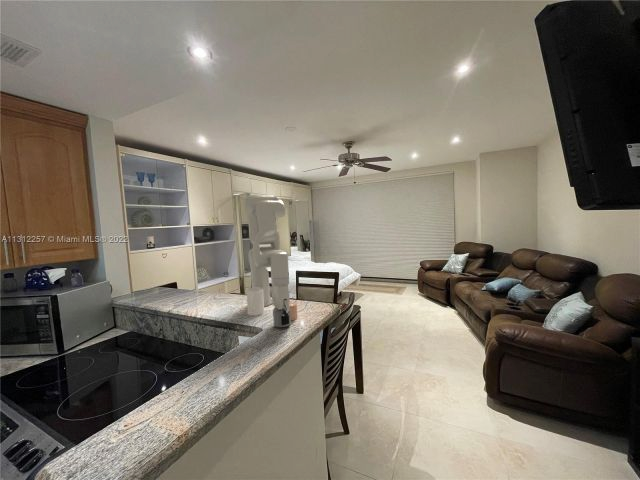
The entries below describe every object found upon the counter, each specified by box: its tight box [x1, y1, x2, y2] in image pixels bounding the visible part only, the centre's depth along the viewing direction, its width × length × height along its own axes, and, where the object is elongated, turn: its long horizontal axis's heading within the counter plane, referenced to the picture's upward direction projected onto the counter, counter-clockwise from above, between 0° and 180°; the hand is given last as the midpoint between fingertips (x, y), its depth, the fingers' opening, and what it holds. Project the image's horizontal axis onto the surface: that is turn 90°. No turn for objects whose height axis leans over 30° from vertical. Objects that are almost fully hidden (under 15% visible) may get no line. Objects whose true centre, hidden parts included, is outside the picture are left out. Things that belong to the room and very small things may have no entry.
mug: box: [246, 287, 266, 317], centre depth 125 cm, size 12×8×12 cm
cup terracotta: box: [289, 301, 298, 322], centre depth 118 cm, size 7×7×6 cm
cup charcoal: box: [272, 307, 292, 328], centre depth 109 cm, size 7×7×6 cm
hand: (282, 321), depth 109 cm, fingers closed on cup charcoal, 7 cm apart
